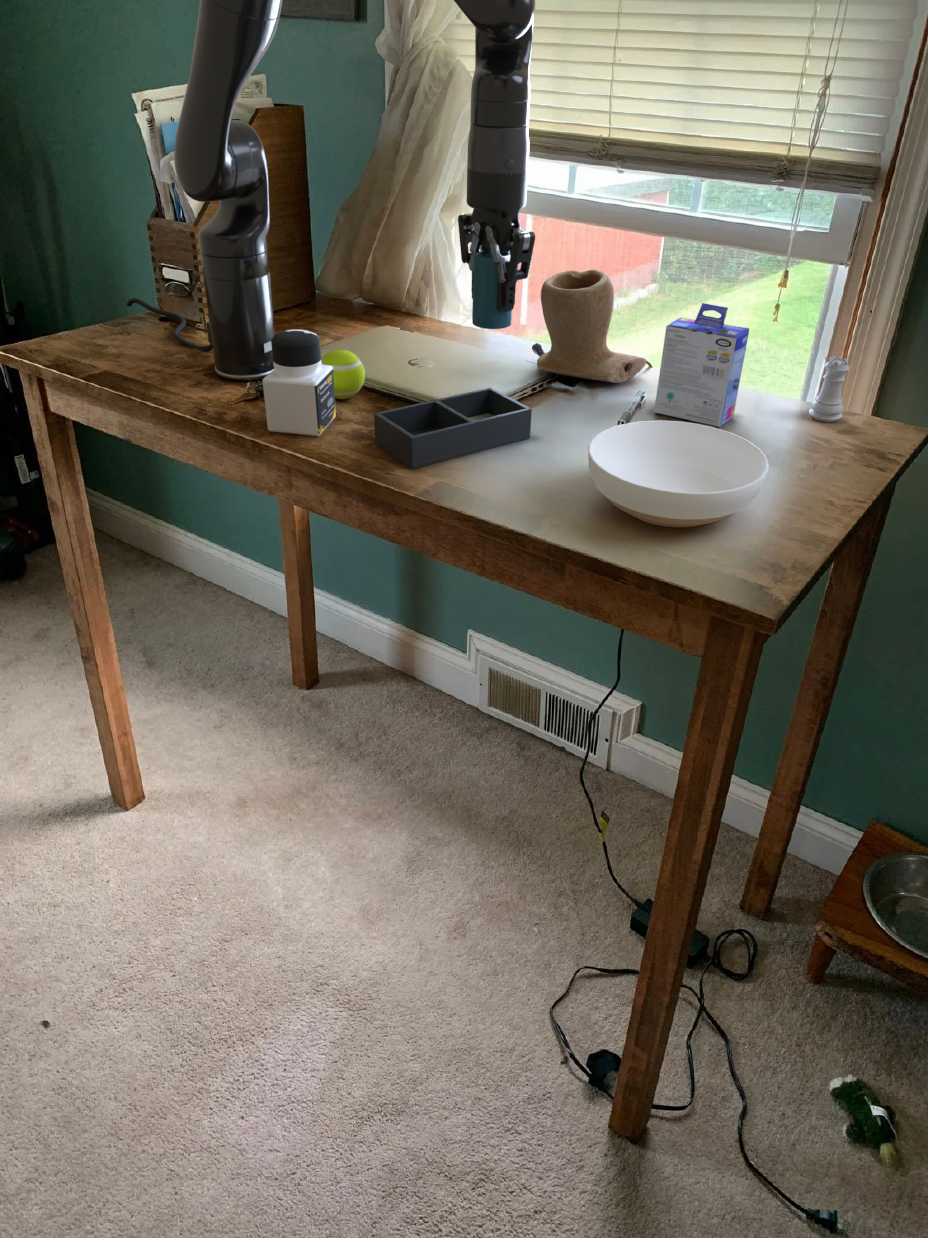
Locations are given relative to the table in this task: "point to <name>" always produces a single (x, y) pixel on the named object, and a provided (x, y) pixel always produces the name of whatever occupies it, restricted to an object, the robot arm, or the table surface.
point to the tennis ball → (345, 372)
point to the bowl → (676, 471)
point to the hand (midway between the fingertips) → (492, 304)
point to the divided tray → (452, 427)
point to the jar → (487, 293)
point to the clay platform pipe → (583, 328)
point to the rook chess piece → (830, 392)
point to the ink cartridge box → (701, 368)
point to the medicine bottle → (298, 385)
